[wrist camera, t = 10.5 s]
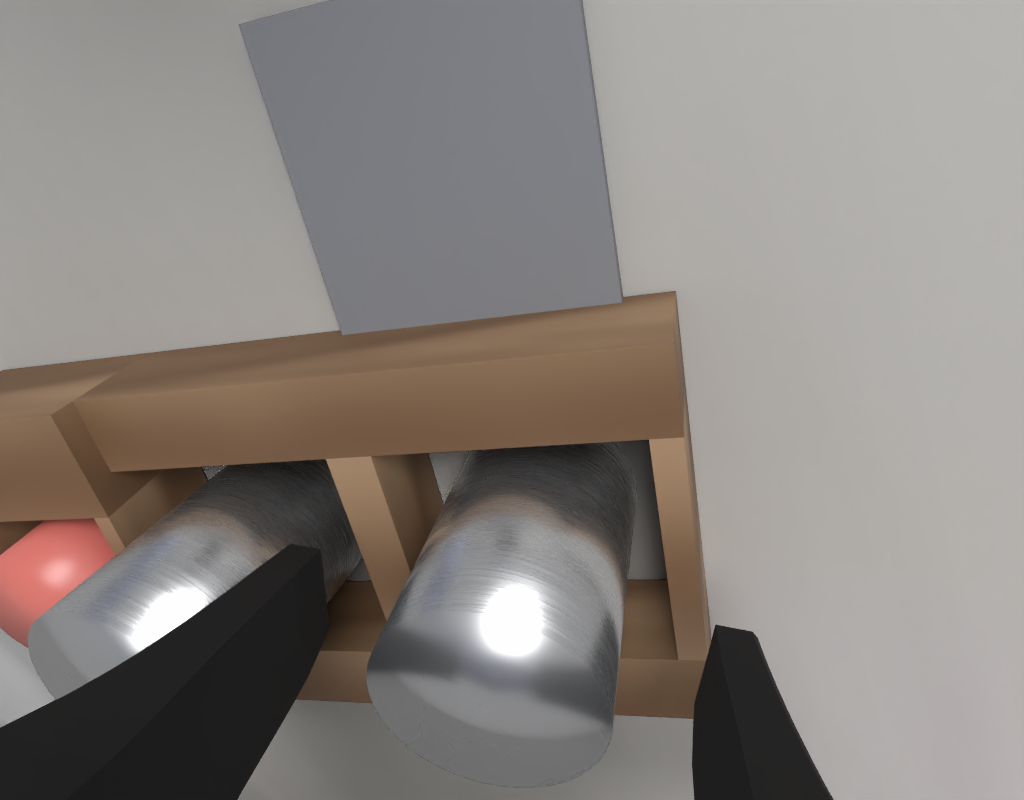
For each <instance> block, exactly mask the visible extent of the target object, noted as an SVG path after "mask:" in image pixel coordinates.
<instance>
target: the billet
mask: <svg viewBox="0 0 1024 800" xmlns="http://www.w3.org/2000/svg"><path fill="white" fill-rule="evenodd" d="M635 504H636V483H635V478H634V474H633V471H632V468H631V466H630V464H629V462H628V460H627V458H626V457H625V455H624V454H623V452H622V451H621V450H620V448H619V447H618V446H617V445H616V444H615V443H614V442H600V443H583V444H567V445H550V446H534V447H517V448H501V449H484V450H470V452H469V455H468V457H467V459H466V461H465V463H464V465H463V467H462V469H461V471H460V473H459V475H458V477H457V479H456V481H455V483H454V485H453V487H452V489H451V491H450V493H449V495H448V497H447V499H446V502H445V504H444V506H443V508H442V510H441V512H440V514H439V516H438V518H437V520H436V522H435V524H434V526H433V528H432V530H431V532H430V534H429V536H428V538H427V540H426V542H425V544H424V546H423V548H422V551H421V553H420V555H419V557H418V559H417V561H416V563H415V565H414V567H413V569H412V571H411V573H410V575H409V577H408V579H407V581H406V583H405V585H404V587H403V589H402V591H401V593H400V595H399V597H398V600H397V602H396V604H395V606H394V608H393V610H392V612H391V614H390V616H389V618H388V620H387V622H386V624H385V626H384V628H383V630H382V632H381V634H380V636H379V638H378V640H377V642H376V644H375V646H374V649H373V651H372V653H371V655H370V658H369V661H368V665H367V672H366V676H367V687H368V691H369V695H370V698H371V700H372V703H373V705H374V707H375V709H376V711H377V713H378V714H379V716H380V717H381V719H382V720H383V722H384V723H385V724H386V726H387V727H388V728H389V729H390V730H391V731H392V732H393V734H394V735H395V736H396V737H397V738H398V739H400V740H401V741H402V742H403V743H404V744H405V745H406V746H408V747H409V748H410V749H411V750H413V751H414V752H415V753H417V754H418V755H420V756H421V757H423V758H425V759H426V760H428V761H429V762H431V763H433V764H435V765H437V766H439V767H441V768H443V769H445V770H447V771H449V772H452V773H454V774H456V775H459V776H462V777H465V778H468V779H471V780H474V781H478V782H482V783H486V784H491V785H497V786H504V787H515V788H532V787H543V786H549V785H554V784H559V783H562V782H565V781H568V780H571V779H573V778H575V777H577V776H579V775H581V774H583V773H584V772H586V771H587V770H589V769H590V768H592V767H593V766H594V765H595V764H596V763H597V762H598V761H599V760H600V758H601V757H602V756H603V754H604V753H605V752H606V749H607V747H608V745H609V743H610V739H611V735H612V729H613V719H614V709H615V700H616V690H617V680H618V670H619V660H620V651H621V641H622V631H623V621H624V611H625V602H626V592H627V582H628V572H629V562H630V553H631V543H632V533H633V523H634V513H635Z"/></svg>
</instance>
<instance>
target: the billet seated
mask: <svg viewBox="0 0 1024 800" xmlns="http://www.w3.org/2000/svg"><path fill="white" fill-rule="evenodd" d="M289 544H295V545H301V546H306V547H311V548H316V549H321V556H322V565H323V574H324V582H325V591H326V600H327V603H328V602H329V601H330V600H331V598H332V597H333V596H334V594H335V593H336V592H337V591H338V589H339V588H340V587H341V585H342V584H343V583H344V581H345V580H346V579H347V578H348V576H349V575H350V574H351V572H352V571H353V570H354V569H355V567H356V566H357V565H358V563H359V562H360V561H361V560H362V558H363V557H362V554H361V551H360V549H359V546H358V543H357V541H356V538H355V535H354V533H353V530H352V527H351V525H350V522H349V519H348V517H347V514H346V512H345V509H344V506H343V504H342V501H341V498H340V496H339V493H338V490H337V488H336V485H335V482H334V480H333V477H332V474H331V472H330V469H329V466H328V464H327V461H326V459H319V460H302V461H286V462H269V463H253V464H236V465H227V466H226V467H225V468H223V469H222V470H221V471H220V472H218V473H217V474H216V475H215V476H213V477H212V478H211V479H210V480H208V481H207V482H206V483H205V484H204V485H202V486H201V487H200V488H199V489H197V490H196V491H195V492H194V493H192V494H191V495H190V496H189V497H187V498H186V499H185V500H184V501H182V502H181V503H180V504H179V505H178V506H176V507H175V508H174V509H173V510H171V511H170V512H169V513H168V514H166V515H165V516H164V517H163V518H161V519H160V520H159V521H158V522H156V523H155V524H154V525H153V526H152V527H150V528H149V529H148V530H147V531H145V532H144V533H143V534H142V535H140V536H139V537H138V538H137V539H135V540H134V541H133V542H132V543H130V544H129V545H128V546H127V547H126V548H124V549H123V550H122V551H121V552H119V553H118V554H117V555H116V556H114V557H113V558H112V559H111V560H109V561H108V562H107V563H106V564H104V565H103V566H102V567H101V568H99V569H98V570H97V571H96V572H95V573H93V574H92V575H91V576H90V577H88V578H87V579H86V580H85V581H83V582H82V583H81V584H80V585H78V586H77V587H76V588H75V589H73V590H72V591H71V592H70V593H69V594H67V595H66V596H65V597H64V598H62V599H61V600H60V601H59V602H57V603H56V604H55V605H54V606H52V607H51V608H50V609H49V610H47V611H46V612H45V613H44V614H43V615H41V616H40V617H39V618H38V619H36V620H35V622H34V623H33V624H32V625H31V628H30V630H29V634H28V648H29V653H30V656H31V659H32V662H33V665H34V667H35V669H36V671H37V673H38V675H39V677H40V678H41V680H42V682H43V683H44V685H45V686H46V688H47V689H48V691H49V692H50V693H51V695H52V696H53V697H54V698H55V700H57V699H59V698H61V697H63V696H65V695H66V694H68V693H70V692H72V691H74V690H76V689H77V688H79V687H81V686H83V685H85V684H86V683H88V682H90V681H92V680H93V679H95V678H97V677H99V676H100V675H102V674H104V673H106V672H107V671H109V670H111V669H112V668H114V667H116V666H117V665H119V664H121V663H122V662H124V661H126V660H127V659H129V658H130V657H132V656H134V655H135V654H137V653H138V652H140V651H141V650H143V649H144V648H146V647H147V646H149V645H150V644H152V643H153V642H155V641H156V640H158V639H159V638H161V637H162V636H164V635H165V634H167V633H168V632H170V631H171V630H173V629H174V628H176V627H177V626H179V625H180V624H182V623H183V622H185V621H186V620H188V619H189V618H190V617H192V616H193V615H195V614H196V613H197V612H199V611H200V610H201V609H203V608H204V607H206V606H207V605H208V604H210V603H211V602H213V601H214V600H215V599H217V598H218V597H219V596H221V595H222V594H224V593H225V592H226V591H228V590H229V589H230V588H232V587H233V586H234V585H236V584H237V583H238V582H240V581H241V580H242V579H244V578H245V577H246V576H248V575H249V574H250V573H252V572H253V571H254V570H256V569H257V568H258V567H259V566H261V565H262V564H263V563H265V562H266V561H267V560H269V559H270V558H271V557H273V556H274V555H276V554H277V553H278V552H280V551H281V550H282V549H284V548H285V547H287V546H288V545H289Z"/></svg>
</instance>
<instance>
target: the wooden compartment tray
mask: <svg viewBox="0 0 1024 800" xmlns="http://www.w3.org/2000/svg"><path fill="white" fill-rule="evenodd" d="M633 440H649V444H650V452H651V459H652V467H653V474H654V482H655V489H656V497H657V504H658V512H659V519H660V527H661V534H662V542H663V549H664V557H665V564H666V572H667V579H668V580H628V582H627V592H626V602H625V611H624V621H623V631H622V641H621V651H620V660H619V670H618V680H617V690H616V700H615V709H614V715H627V716H648V717H668V718H689V719H694V702H695V699H696V695H697V691H698V688H699V684H700V680H701V677H702V673H703V669H704V666H705V662H706V659H707V655H708V651H709V648H710V644H711V630H710V620H709V610H708V601H707V591H706V581H705V571H704V562H703V552H702V542H701V532H700V523H699V513H698V503H697V493H696V484H695V474H694V464H693V454H692V445H691V435H690V425H689V415H688V405H687V396H686V386H685V376H684V366H683V357H682V347H681V337H680V327H679V318H678V308H677V298H676V291H672V292H663V293H655V294H646V295H638V296H629V297H623V300H622V303H615V304H607V305H598V306H589V307H581V308H572V309H563V310H555V311H546V312H537V313H529V314H520V315H512V316H503V317H494V318H486V319H477V320H468V321H460V322H451V323H442V324H434V325H425V326H416V327H408V328H399V329H391V330H382V331H373V332H365V333H356V334H347V335H342V333H341V331H332V332H324V333H315V334H307V335H298V336H290V337H281V338H273V339H264V340H256V341H247V342H239V343H230V344H222V345H213V346H205V347H196V348H188V349H179V350H171V351H162V352H154V353H145V354H137V355H128V356H120V357H112V358H103V359H95V360H86V361H78V362H69V363H61V364H52V365H44V366H35V367H27V368H18V369H10V370H2V371H0V555H1V554H2V553H4V552H5V551H6V550H7V549H9V548H10V547H11V546H13V545H14V544H15V543H16V542H18V541H19V540H20V539H21V538H23V537H24V536H25V535H26V534H28V533H29V532H30V531H31V530H33V529H34V528H35V527H36V526H38V525H39V524H40V523H41V522H43V521H44V520H62V519H88V518H94V519H95V521H96V523H97V525H98V526H99V528H100V530H101V531H102V533H103V535H104V537H105V538H106V540H107V542H108V544H109V545H110V547H111V549H112V551H113V552H114V554H115V556H116V555H117V554H118V553H119V552H121V551H122V550H123V549H124V548H126V547H127V546H128V545H129V544H130V543H132V542H133V541H134V540H135V539H137V538H138V537H139V536H140V535H142V534H143V533H144V532H145V531H147V530H148V529H149V528H150V527H152V526H153V525H154V524H155V523H156V522H158V521H159V520H160V519H161V518H163V517H164V516H165V515H166V514H168V513H169V512H170V511H171V510H173V509H174V508H175V507H176V506H178V505H179V504H180V503H181V502H182V501H184V500H185V499H186V498H187V497H189V496H190V495H191V494H192V493H194V492H195V491H196V490H197V489H199V488H200V487H201V486H202V485H204V484H205V483H206V482H207V479H206V477H205V475H204V473H203V470H202V468H201V467H203V466H220V465H236V464H253V463H269V462H286V461H302V460H319V459H326V461H327V464H328V466H329V469H330V472H331V474H332V477H333V480H334V482H335V485H336V488H337V490H338V493H339V496H340V498H341V501H342V504H343V506H344V509H345V512H346V514H347V517H348V519H349V522H350V525H351V527H352V530H353V533H354V535H355V538H356V541H357V543H358V546H359V549H360V551H361V554H362V557H363V559H364V562H365V565H366V567H367V570H368V573H369V575H370V578H371V581H372V582H344V583H343V584H342V585H341V587H340V588H339V589H338V591H337V592H336V593H335V594H334V596H333V597H332V598H331V600H330V601H329V602H328V603H327V609H328V618H329V626H330V627H329V630H328V632H327V635H326V637H325V639H324V642H323V644H322V647H321V649H320V651H319V654H318V656H317V658H316V661H315V663H314V665H313V667H312V669H311V672H310V674H309V676H308V678H307V680H306V682H305V684H304V685H303V687H302V689H301V691H300V693H299V694H298V696H297V698H296V699H299V700H320V701H340V702H361V703H372V700H371V698H370V695H369V691H368V687H367V676H366V672H367V665H368V661H369V658H370V655H371V653H372V651H373V649H374V646H375V644H376V642H377V640H378V638H379V636H380V634H381V632H382V630H383V628H384V626H385V624H386V622H387V620H388V618H389V616H390V614H391V612H392V610H393V608H394V606H395V604H396V602H397V600H398V597H399V595H400V593H401V591H402V589H403V587H404V585H405V583H406V581H407V579H408V577H409V575H410V573H411V571H412V569H413V567H414V565H415V563H416V561H417V559H418V557H419V555H420V553H421V551H422V548H423V546H424V544H425V542H426V540H427V538H428V536H429V534H430V532H431V530H432V528H433V526H434V524H435V522H436V520H437V518H438V516H439V514H440V512H441V510H442V508H443V506H444V505H443V502H442V499H441V495H440V492H439V489H438V485H437V482H436V479H435V475H434V472H433V469H432V465H431V462H430V459H429V455H428V453H435V452H451V451H468V450H484V449H501V448H517V447H534V446H550V445H567V444H583V443H600V442H616V441H633Z"/></svg>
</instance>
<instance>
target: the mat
mask: <svg viewBox="0 0 1024 800" xmlns="http://www.w3.org/2000/svg"><path fill="white" fill-rule="evenodd" d="M239 27H240V30H241V33H242V36H243V39H244V42H245V45H246V48H247V51H248V54H249V57H250V60H251V63H252V66H253V69H254V72H255V75H256V78H257V81H258V84H259V87H260V90H261V93H262V96H263V99H264V102H265V105H266V108H267V111H268V114H269V117H270V120H271V123H272V126H273V129H274V132H275V135H276V138H277V141H278V144H279V147H280V150H281V153H282V156H283V159H284V162H285V165H286V168H287V171H288V174H289V177H290V180H291V183H292V186H293V189H294V192H295V195H296V198H297V201H298V204H299V207H300V210H301V213H302V216H303V219H304V222H305V225H306V228H307V231H308V234H309V237H310V240H311V243H312V246H313V249H314V252H315V255H316V258H317V261H318V264H319V267H320V270H321V273H322V276H323V279H324V282H325V285H326V288H327V291H328V294H329V297H330V300H331V303H332V306H333V309H334V312H335V315H336V318H337V321H338V324H339V327H340V330H341V333H342V335H347V334H356V333H365V332H373V331H382V330H391V329H399V328H408V327H416V326H425V325H434V324H442V323H451V322H460V321H468V320H477V319H486V318H494V317H503V316H512V315H520V314H529V313H537V312H546V311H555V310H563V309H572V308H581V307H589V306H598V305H607V304H615V303H622V300H623V292H622V285H621V278H620V271H619V263H618V256H617V249H616V242H615V234H614V227H613V220H612V213H611V205H610V198H609V191H608V184H607V176H606V169H605V162H604V155H603V147H602V140H601V133H600V126H599V118H598V111H597V104H596V97H595V89H594V82H593V75H592V68H591V60H590V53H589V46H588V39H587V31H586V24H585V17H584V10H583V2H582V0H329V1H325V2H321V3H317V4H314V5H310V6H306V7H302V8H299V9H295V10H291V11H288V12H284V13H280V14H276V15H273V16H269V17H265V18H261V19H258V20H254V21H250V22H246V23H243V24H239Z"/></svg>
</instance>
